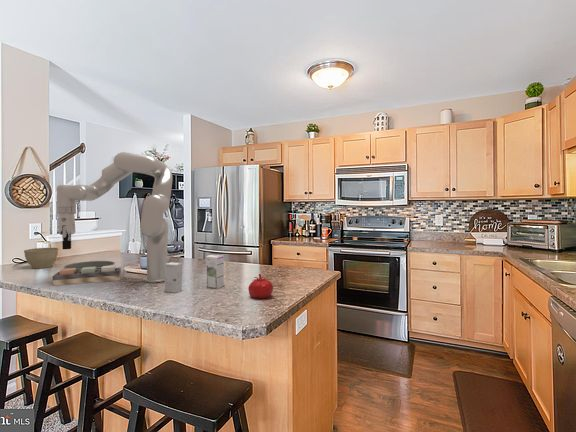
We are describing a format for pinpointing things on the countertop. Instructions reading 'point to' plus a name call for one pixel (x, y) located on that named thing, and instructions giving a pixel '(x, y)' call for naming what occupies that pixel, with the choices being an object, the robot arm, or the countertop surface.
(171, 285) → the skincare box
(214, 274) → the syrup box
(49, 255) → the planter bowl
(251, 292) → the pomegranate
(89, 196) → the robot arm
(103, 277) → the keypad
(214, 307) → the countertop surface
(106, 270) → the key
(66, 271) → the key
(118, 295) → the countertop surface
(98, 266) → the cake pan
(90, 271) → the key middle
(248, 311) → the countertop surface
